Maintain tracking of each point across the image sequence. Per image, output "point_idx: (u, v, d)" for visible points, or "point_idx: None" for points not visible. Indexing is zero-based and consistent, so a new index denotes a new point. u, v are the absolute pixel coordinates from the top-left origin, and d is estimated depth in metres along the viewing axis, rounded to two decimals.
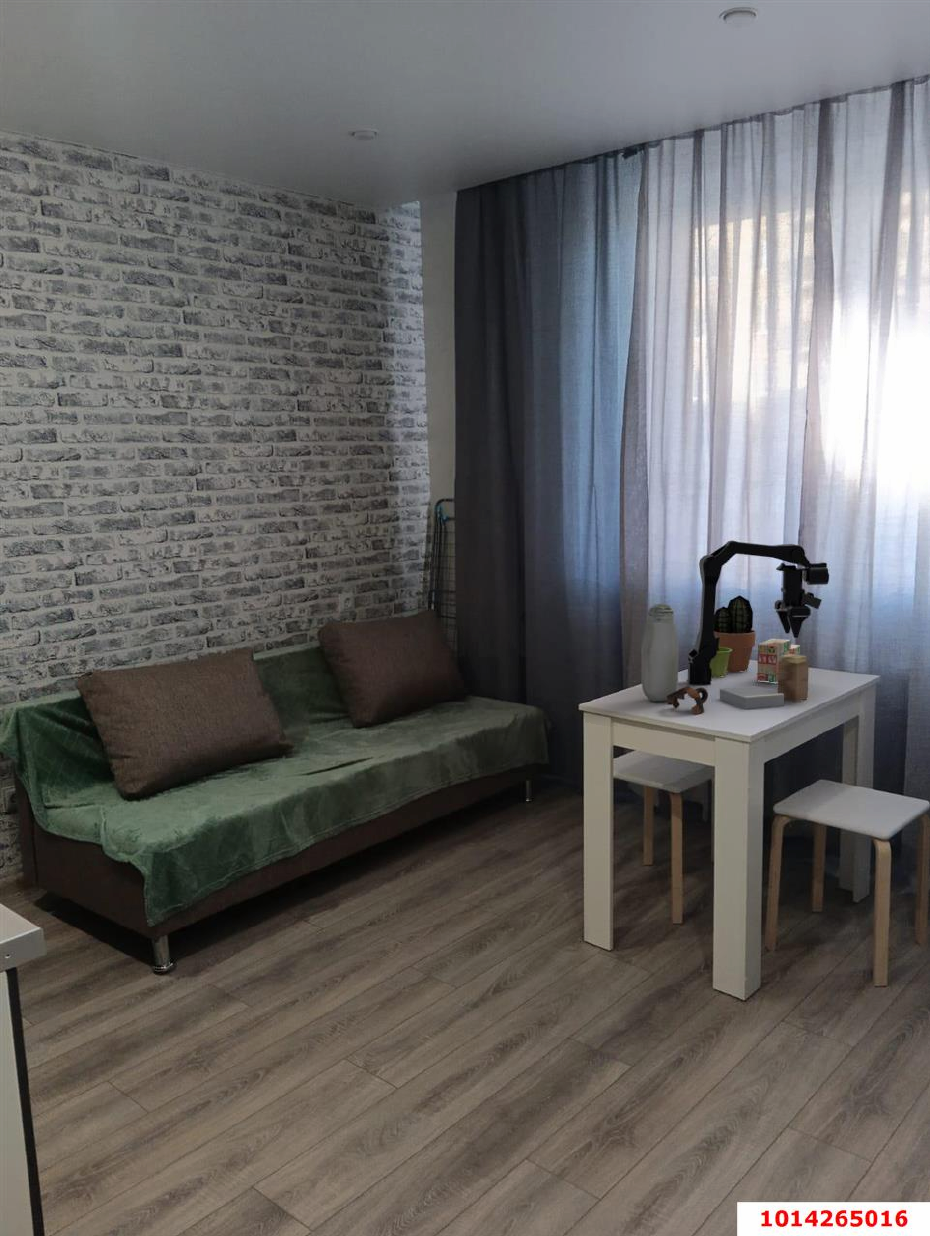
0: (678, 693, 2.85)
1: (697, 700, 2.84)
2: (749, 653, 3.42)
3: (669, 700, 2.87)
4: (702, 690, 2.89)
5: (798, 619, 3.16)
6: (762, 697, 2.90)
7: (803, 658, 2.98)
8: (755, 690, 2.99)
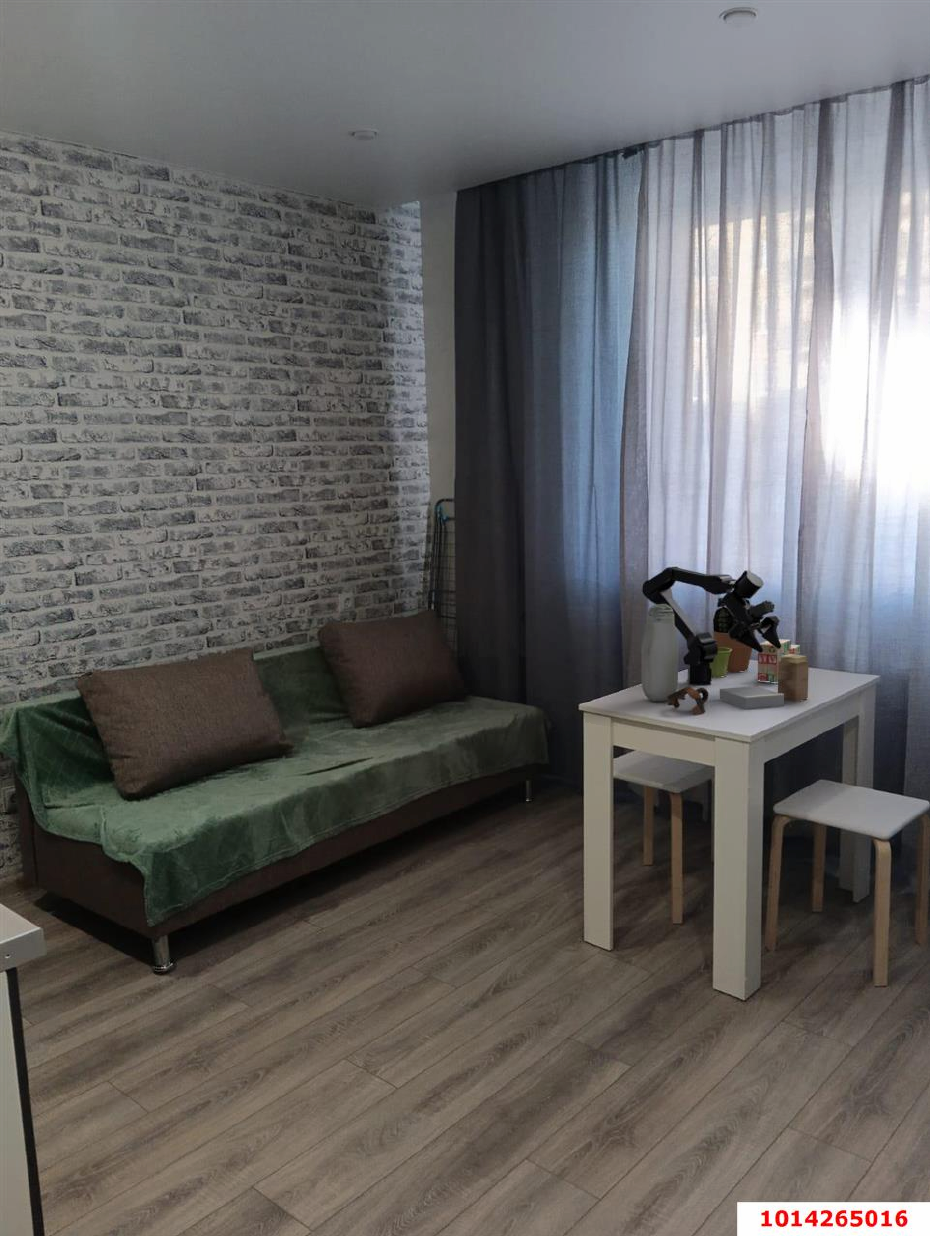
0: (679, 693, 2.84)
1: (698, 700, 2.84)
2: (749, 653, 3.42)
3: (670, 700, 2.86)
4: (702, 690, 2.89)
5: (748, 635, 3.03)
6: (762, 697, 2.90)
7: (803, 658, 2.98)
8: (755, 690, 2.99)
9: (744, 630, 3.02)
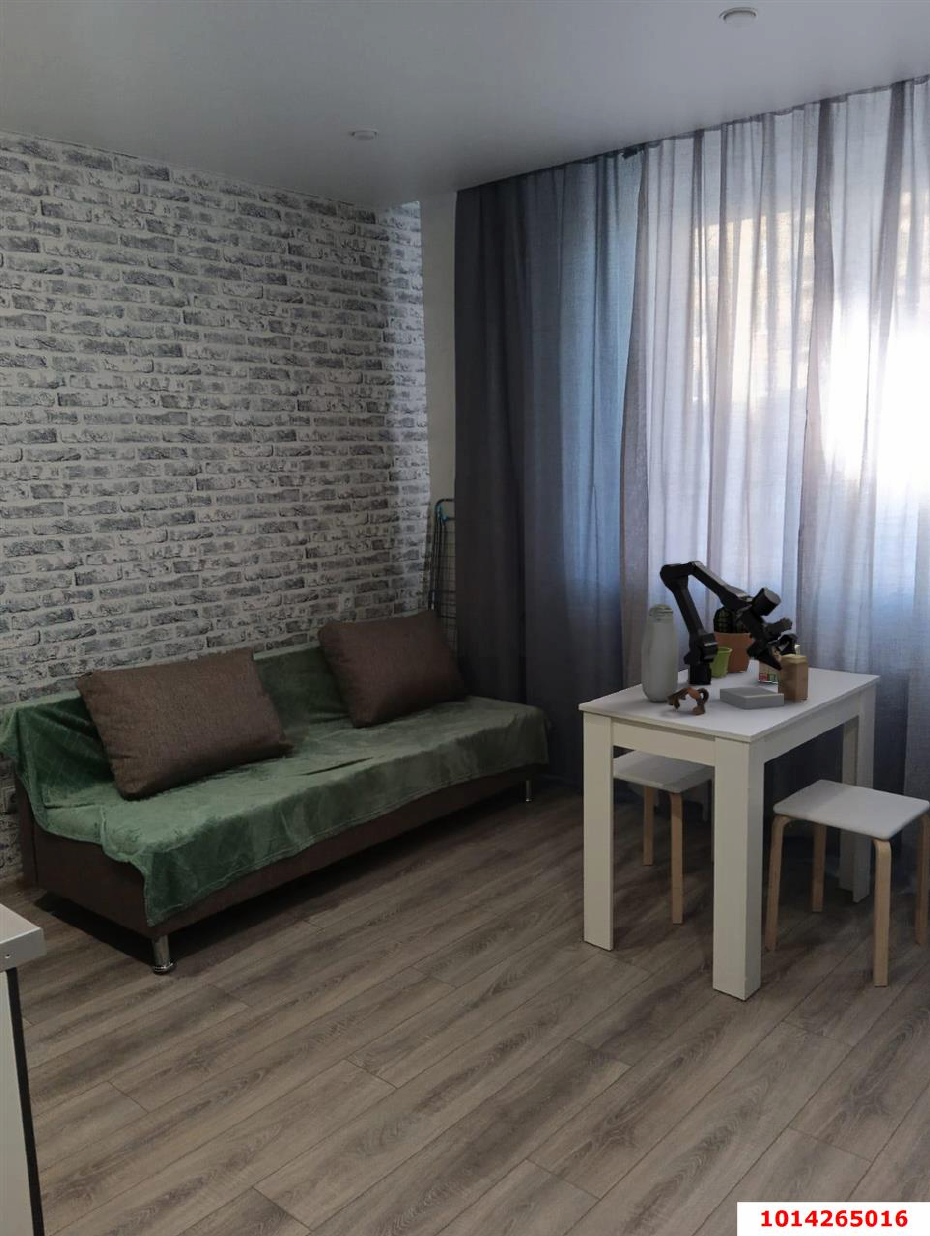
0: (679, 694, 2.84)
1: (698, 701, 2.83)
2: None
3: (670, 701, 2.86)
4: (703, 691, 2.88)
5: (766, 653, 2.99)
6: (762, 697, 2.90)
7: (803, 658, 2.98)
8: (755, 690, 2.99)
9: (762, 648, 2.98)
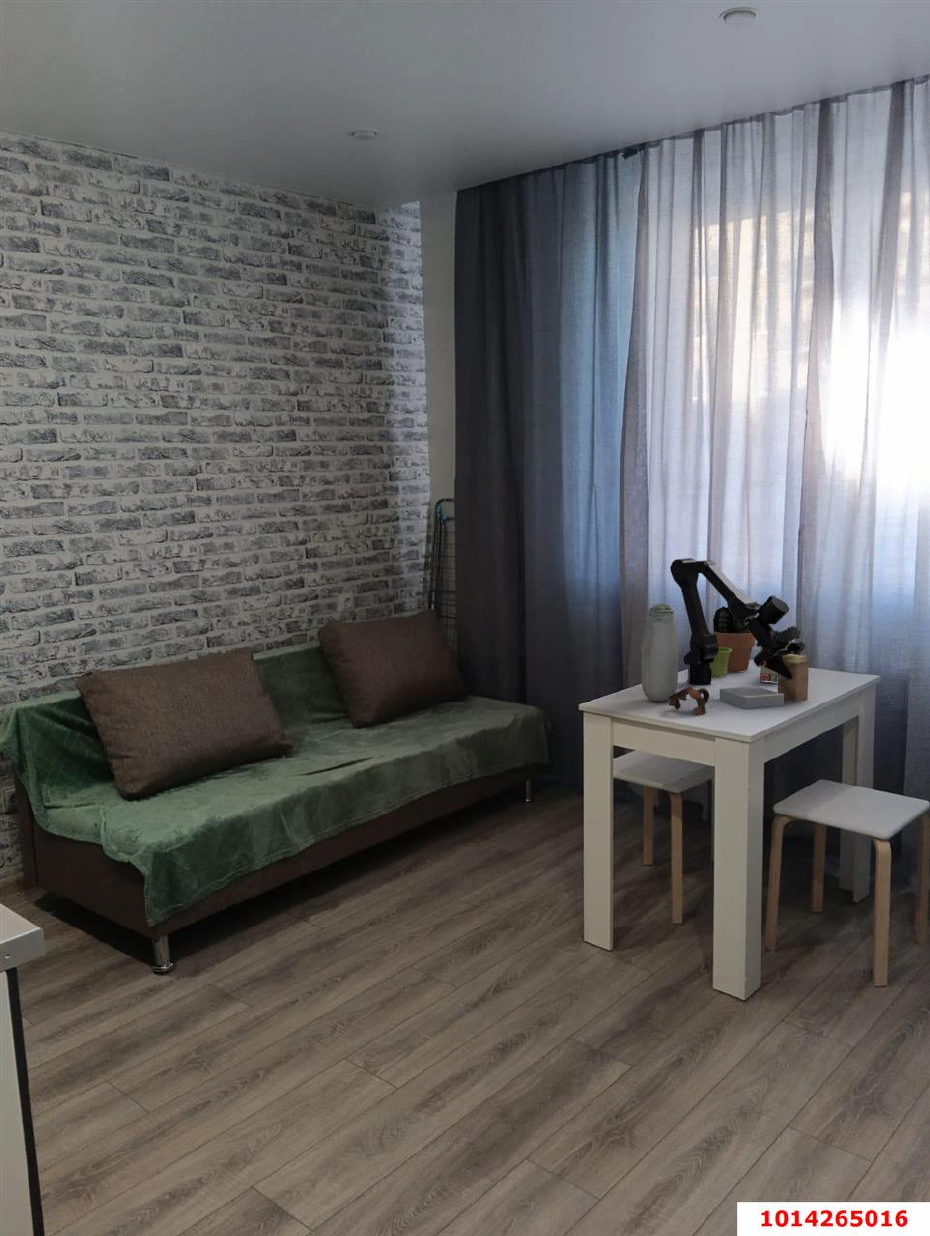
0: (680, 694, 2.84)
1: (699, 701, 2.83)
2: (749, 653, 3.42)
3: (671, 701, 2.85)
4: (703, 691, 2.88)
5: (777, 662, 2.99)
6: (762, 697, 2.90)
7: (803, 658, 2.98)
8: (755, 690, 2.99)
9: (773, 656, 2.97)
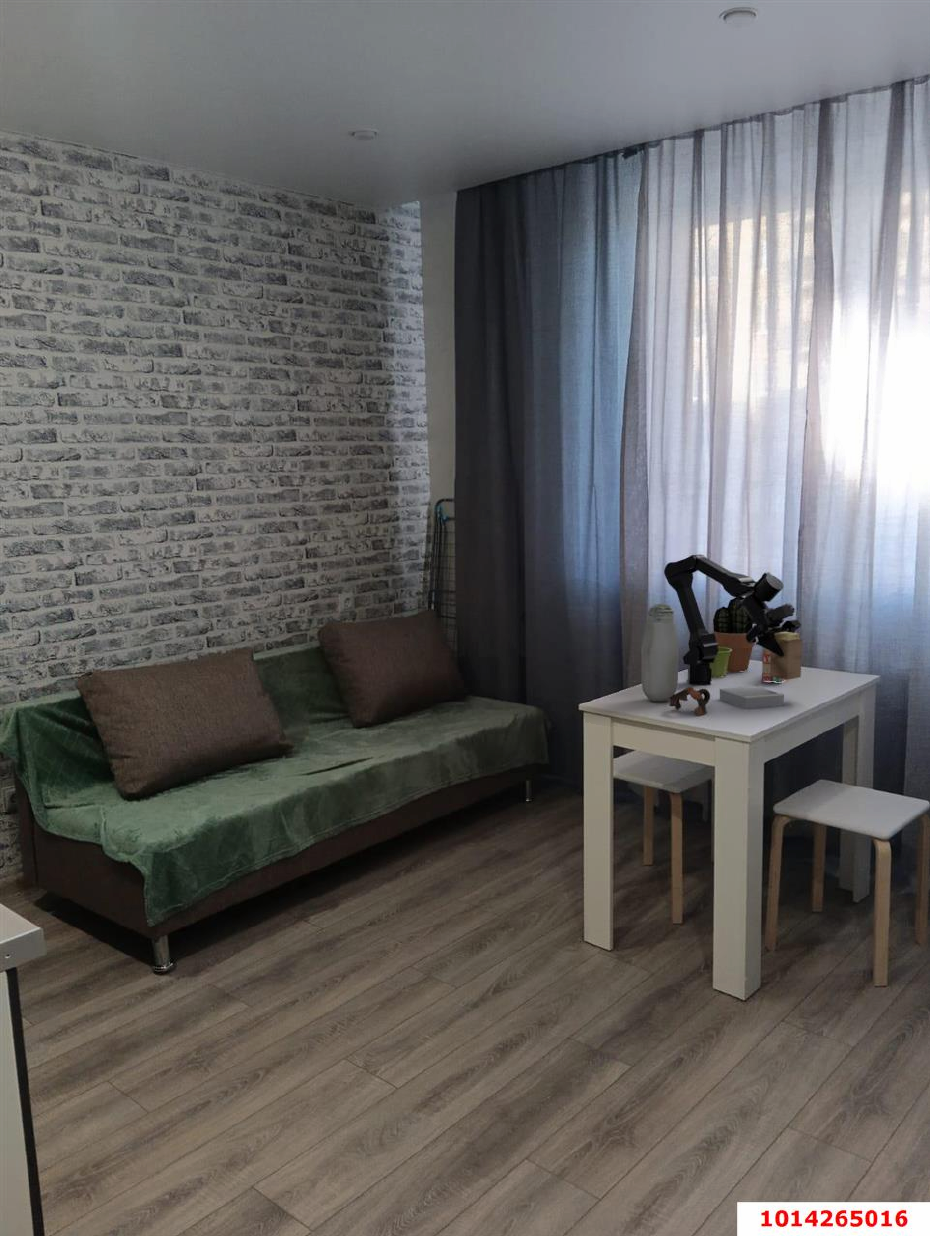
0: (681, 694, 2.83)
1: (700, 701, 2.82)
2: (749, 653, 3.42)
3: (671, 701, 2.85)
4: (704, 691, 2.87)
5: (769, 639, 2.97)
6: (762, 697, 2.90)
7: (796, 636, 2.96)
8: (755, 690, 2.99)
9: (764, 633, 2.95)
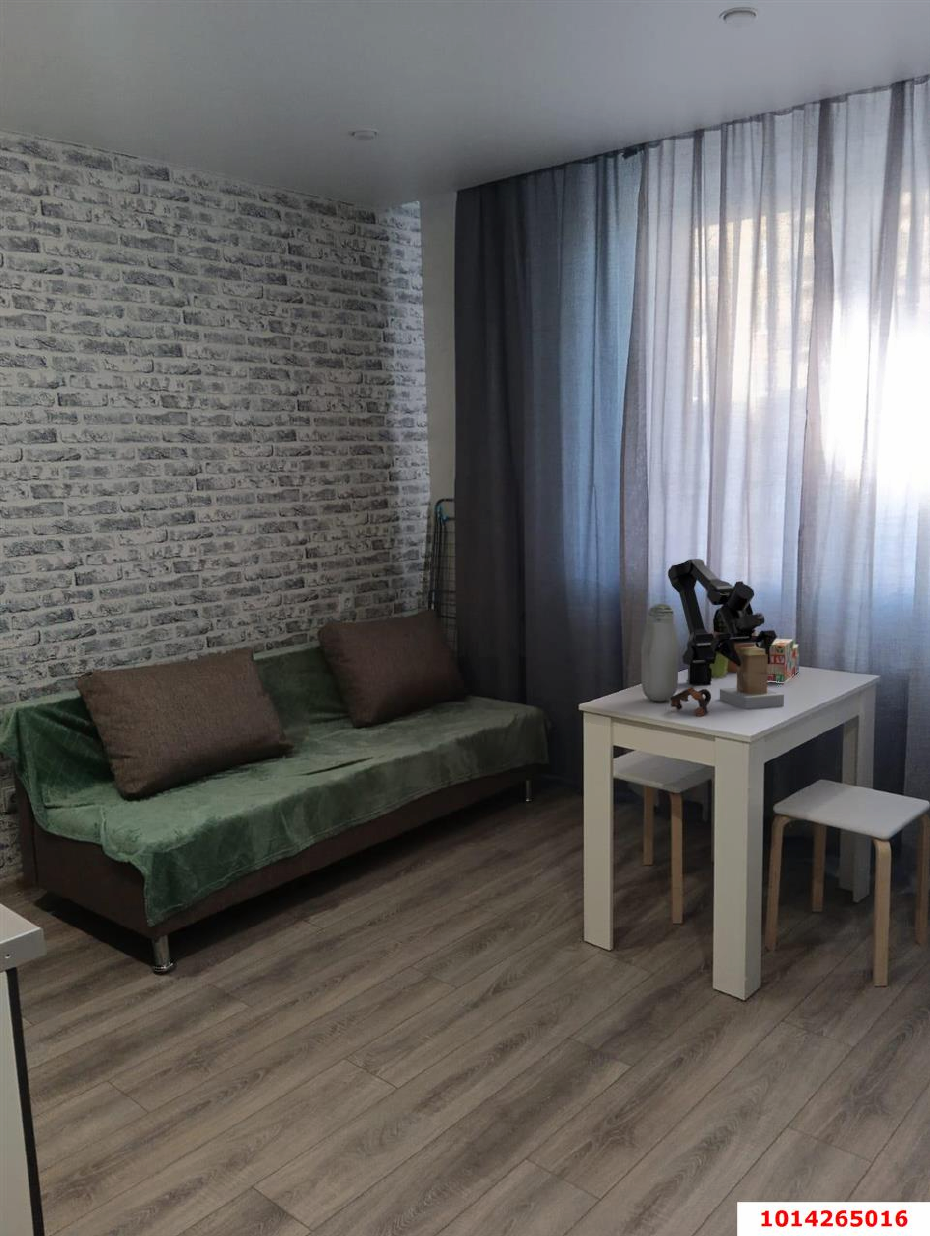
0: (682, 695, 2.82)
1: (701, 702, 2.82)
2: None
3: (672, 702, 2.84)
4: (705, 692, 2.87)
5: (729, 648, 2.96)
6: (762, 697, 2.90)
7: (760, 651, 2.93)
8: None
9: (722, 642, 2.95)
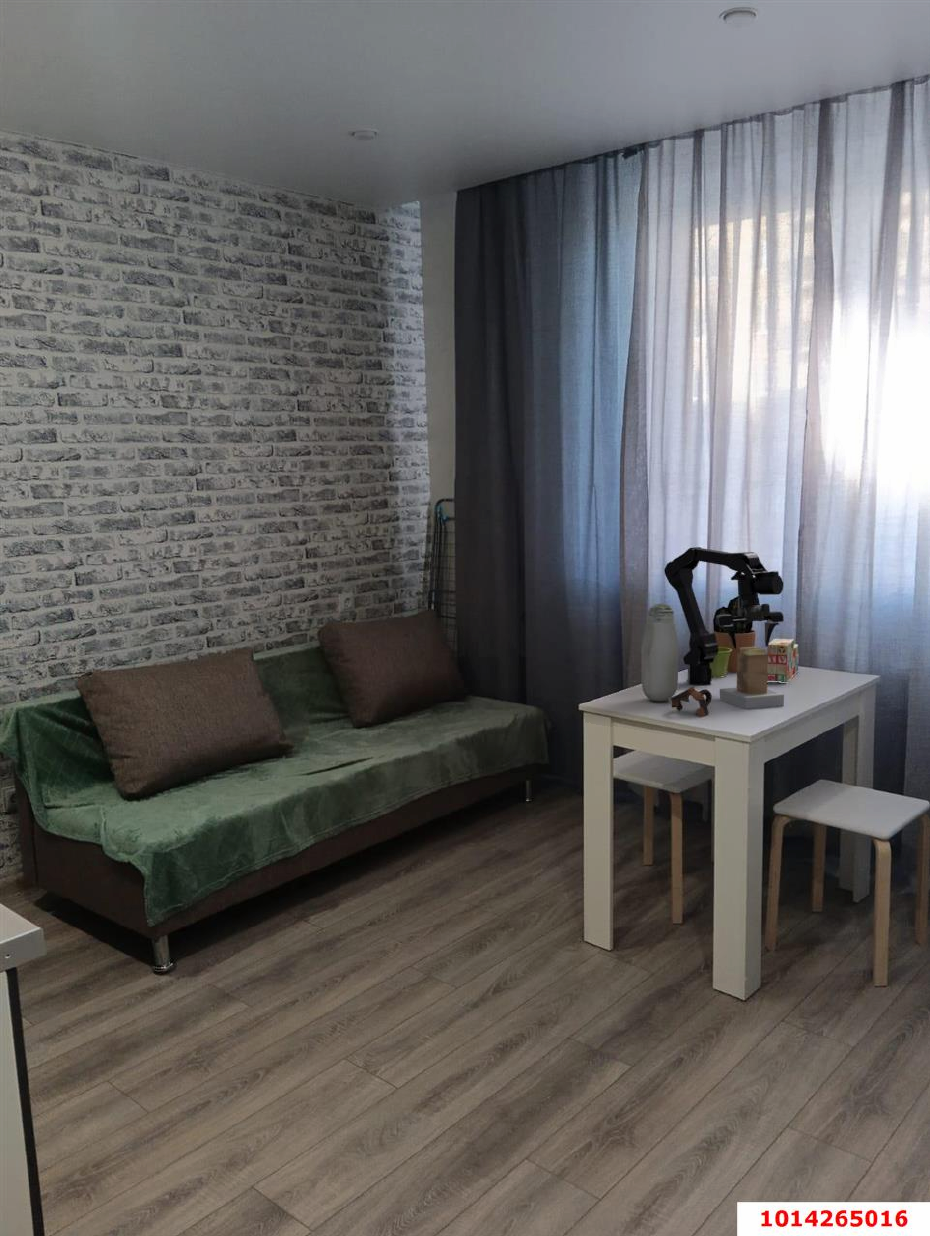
0: (682, 695, 2.82)
1: (702, 702, 2.81)
2: None
3: (673, 703, 2.84)
4: (706, 692, 2.86)
5: None
6: (762, 697, 2.90)
7: (760, 651, 2.93)
8: None
9: (723, 625, 3.08)
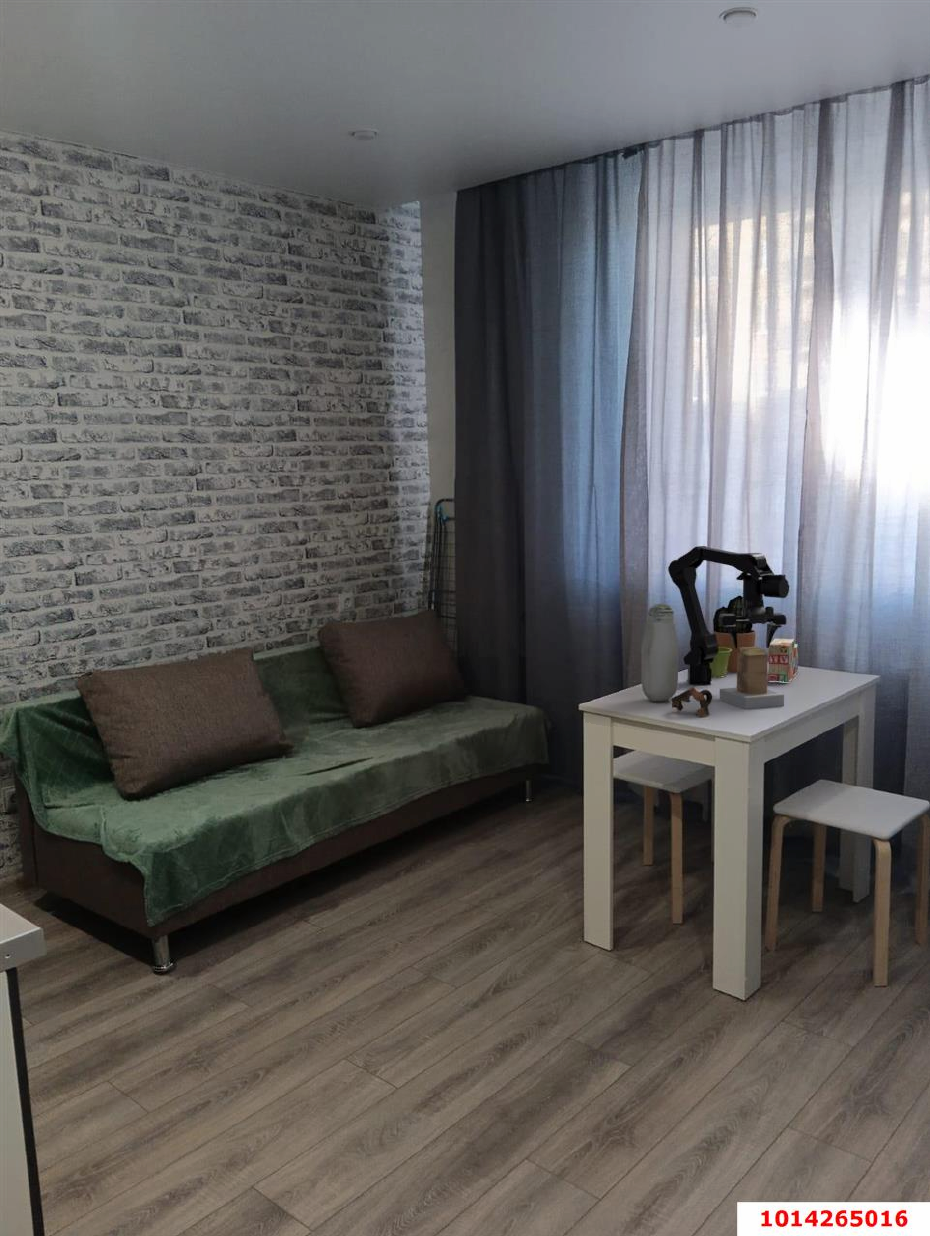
0: (683, 696, 2.81)
1: (702, 703, 2.81)
2: None
3: (674, 703, 2.83)
4: (706, 692, 2.86)
5: None
6: (762, 697, 2.90)
7: (760, 651, 2.93)
8: None
9: (726, 625, 3.09)
